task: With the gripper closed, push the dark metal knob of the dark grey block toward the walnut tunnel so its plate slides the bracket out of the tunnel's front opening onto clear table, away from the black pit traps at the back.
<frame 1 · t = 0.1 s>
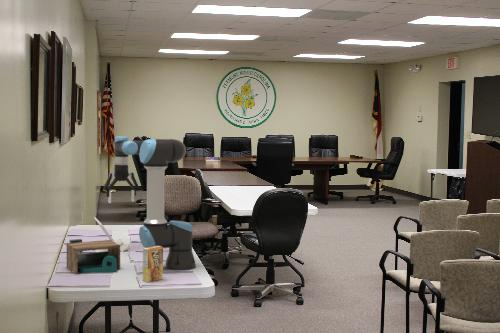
hand: (121, 202, 361), 28 cm above the table, tool pointing down, fingers open, 13 cm apart
tunnel: (93, 268, 321), on the table
tablet stand: (109, 249, 372), on the table
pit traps: (84, 263, 333), on the table
dark grey block: (82, 252, 336), point 5 cm above the table, slide at 0.0 cm
bracket: (98, 271, 316), on the table
candy box: (152, 280, 300), on the table
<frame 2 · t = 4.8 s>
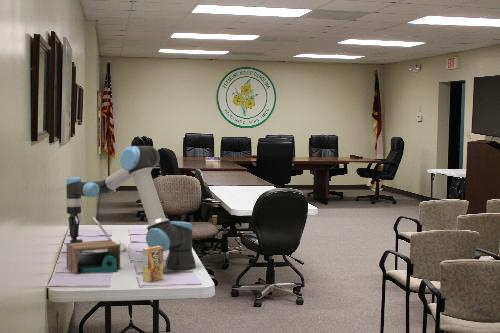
hand: (74, 249, 349), 4 cm above the table, tool pointing down, fingers closed
dark grey block: (82, 252, 335), point 5 cm above the table, slide at 0.7 cm, touching gripper
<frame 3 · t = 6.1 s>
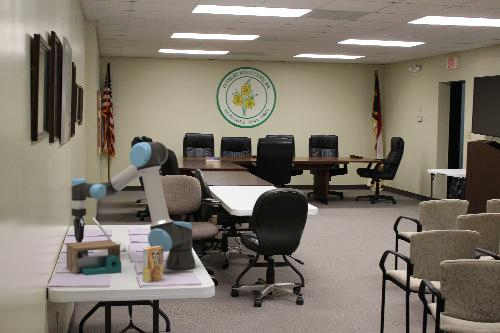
hand: (79, 252, 341), 4 cm above the table, tool pointing down, fingers closed
dark grey block: (88, 255, 327), point 5 cm above the table, slide at 9.9 cm, touching gripper
bracket: (101, 273, 313), on the table
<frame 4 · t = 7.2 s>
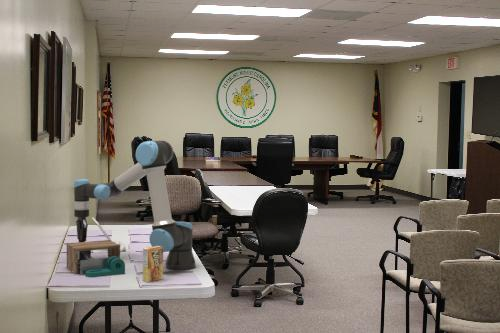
hand: (81, 253, 337), 4 cm above the table, tool pointing down, fingers closed
dark grey block: (91, 257, 323), point 5 cm above the table, slide at 15.0 cm, touching gripper
bracket: (104, 275, 309), on the table
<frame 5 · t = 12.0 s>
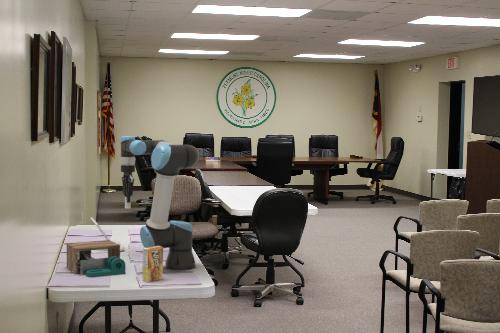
hand: (127, 208, 348), 26 cm above the table, tool pointing down, fingers closed
dark grey block: (91, 257, 323), point 5 cm above the table, slide at 15.2 cm
at the end: bracket inside the target area (1.2 cm from its centre), on the table; dark grey block slide at 15.2 cm; bracket tilted 0° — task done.
